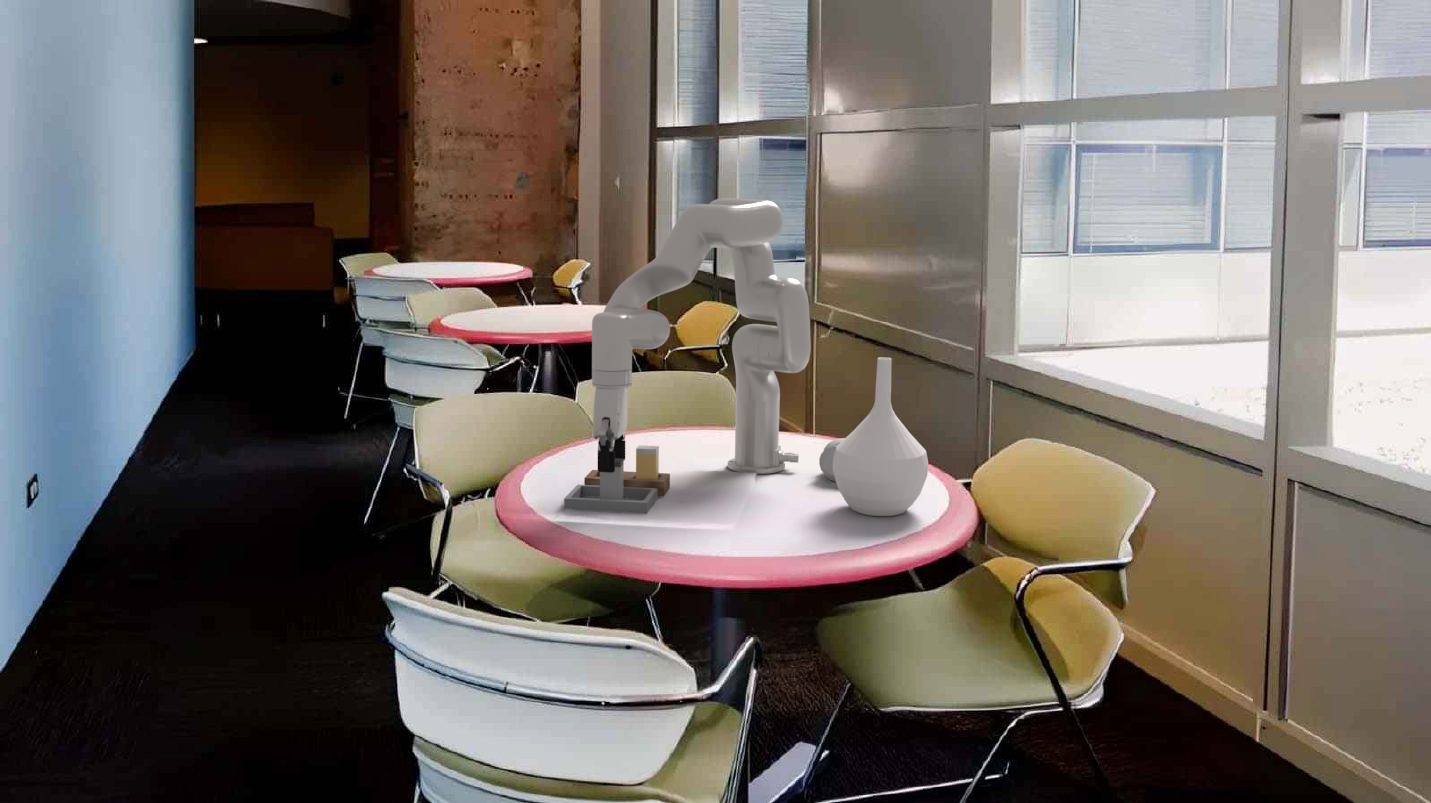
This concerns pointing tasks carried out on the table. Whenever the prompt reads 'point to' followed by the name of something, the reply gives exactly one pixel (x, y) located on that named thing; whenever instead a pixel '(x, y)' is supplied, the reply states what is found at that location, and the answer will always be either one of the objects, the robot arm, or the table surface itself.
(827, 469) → the headphones
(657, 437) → the table surface
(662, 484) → the block
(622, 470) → the block
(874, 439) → the vase
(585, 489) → the parts tray
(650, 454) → the block
